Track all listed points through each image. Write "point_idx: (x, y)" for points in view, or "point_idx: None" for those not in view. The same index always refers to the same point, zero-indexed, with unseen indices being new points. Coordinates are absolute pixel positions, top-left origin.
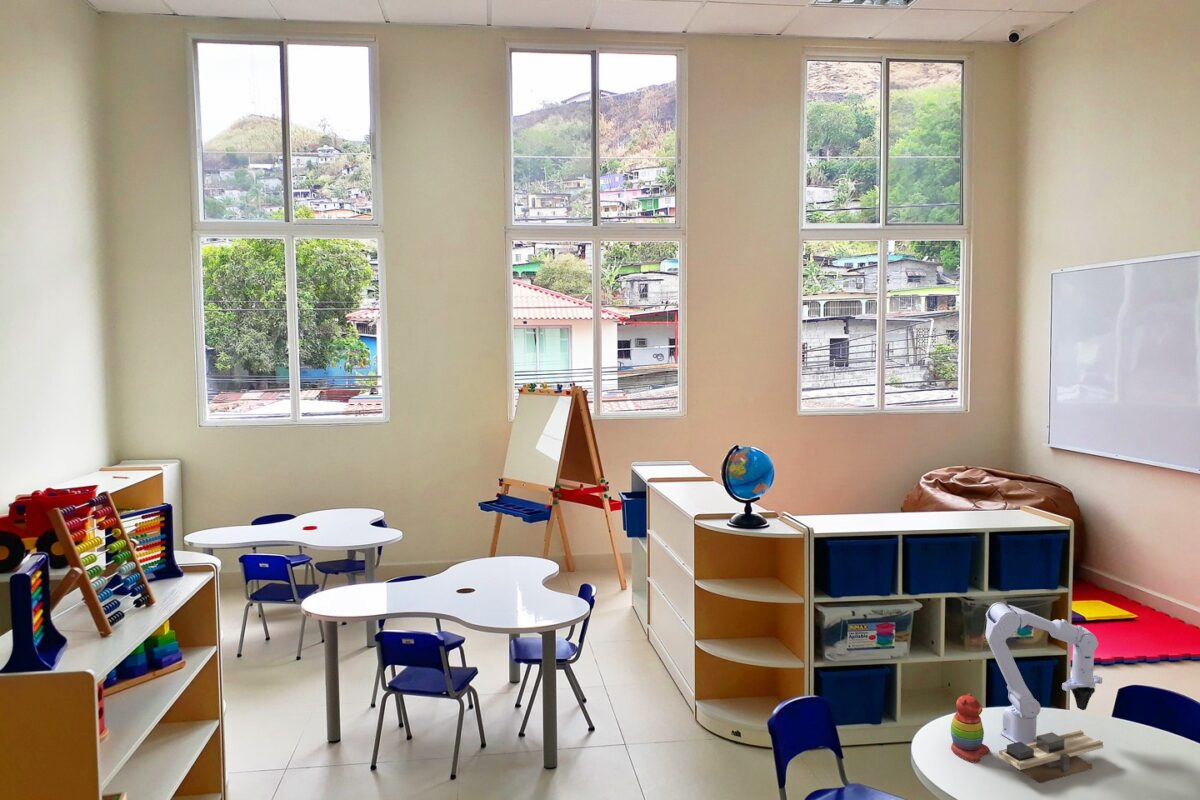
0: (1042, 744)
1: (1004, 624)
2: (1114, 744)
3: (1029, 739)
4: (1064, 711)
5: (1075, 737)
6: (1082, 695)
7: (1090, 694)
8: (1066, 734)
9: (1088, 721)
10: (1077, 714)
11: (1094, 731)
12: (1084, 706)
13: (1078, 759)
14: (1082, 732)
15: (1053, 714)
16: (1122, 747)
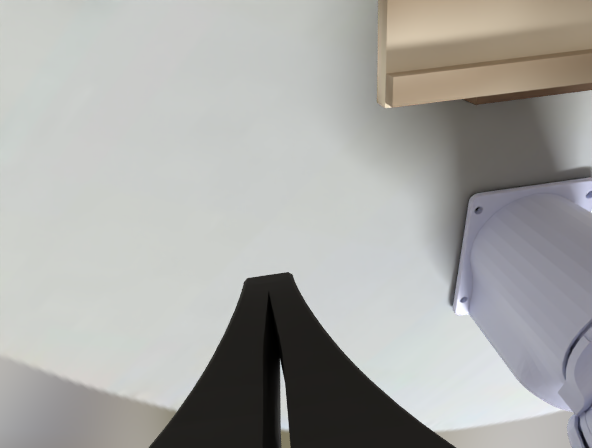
0: None
1: None
2: (82, 70)
3: (571, 203)
4: (139, 393)
5: (492, 45)
6: (417, 426)
7: (207, 443)
8: (559, 80)
9: (79, 314)
10: (94, 369)
11: (112, 231)
12: (284, 293)
13: None
14: (405, 74)
15: None
16: (47, 16)
